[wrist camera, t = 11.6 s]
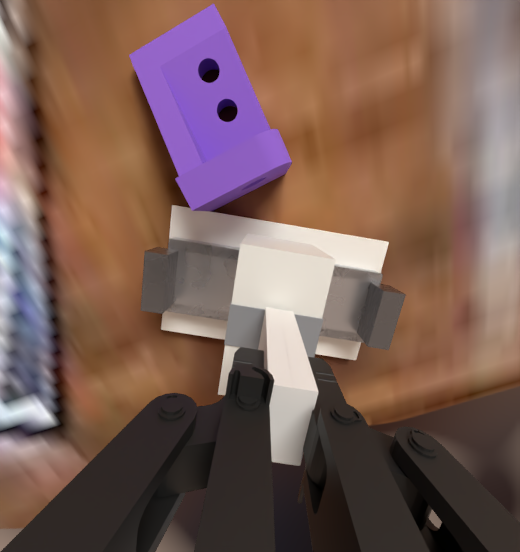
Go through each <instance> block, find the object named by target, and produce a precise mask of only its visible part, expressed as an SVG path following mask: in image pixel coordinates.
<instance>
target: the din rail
mask: <svg viewBox="0 0 520 552" xmlns="http://www.w3.org/2000/svg"><path fill="white" fill-rule="evenodd" d="M239 250H240V248H239V247H233V246H227V245H221V244H215V243H209V242H203V241H197V240H191V239H185V238H179V237H173V238H169V246H168V249H167V248H161V247H157V248H153V249H150V250H147V251H145V256H144V270H143V285H142V300H141V311H147V312H154V313H160V314H163V313H164V312H165V311H168V312H174V313H180V314H187V315H193V316H199V317H205V318H212V319H218V320H224V321H228V316H229V309H230V304H231V301H232V296H233V290H234V283H235V276H236V270H237V263H238V256H239ZM382 276H383V274H381V273H379V272H377V271H375V270H369V269H363V268H357V267H352V266H346V265H340V264H335V266H334V270H333V274H332V278H331V283H330V287H329V291H328V295H327V300H326V304H325V308H324V312H323V316H322V318H323V323H322V327H321V331H320V335H319V336H324V337H331V338H337V339H343V340H349V341H356V342H362V343H364V342H365V344H366V345H367V346H368V347H373V348H380V349H386V350H389V347H390V344H391V341H392V337H393V334H394V331H395V328H396V324H397V321H398V318H399V315H400V311H401V308H402V305H403V302H404V298H405V295H406V294H404V293H402V292H400V291H398V290H397V289H395V288H393V287H391V286H389V285H383V284H380V283H381V279H382Z"/></svg>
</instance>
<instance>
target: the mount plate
mask: <svg viewBox="0 0 520 552" xmlns="http://www.w3.org/2000/svg"><path fill="white" fill-rule="evenodd" d="M247 234H254V235H260V236H265V237H271V238H277V239H283V240H289V241H295V242H301V243H307V244H312V245H313V246H315V247H317V248H318V249H320V250H321V251H323V252H325V253H326V254H328V255H329V256H331V257H333V258H334V259H336V261H335V264H340V265H346V266H352V267H357V268H363V269H369V270H375V271H377V272H379V273H381V269H382V266H383V262H384V258H385V255H386V251H387V248H388V244H389V242H386V241H380V240H375V239H369V238H363V237H357V236H351V235H345V234H340V233H334V232H328V231H322V230H316V229H310V228H305V227H299V226H293V225H287V224H281V223H275V222H270V221H264V220H258V219H252V218H246V217H241V216H235V215H229V214H223V213H217V212H211V211H192V210H191V208H188V207H182V206H176V205H172V212H171V223H170V234H169V238H173V237H179V238H185V239H191V240H197V241H203V242H209V243H215V244H221V245H227V246H233V247H239V248H240V243H241V242H242V241H243V239H244V238H245V237H246V235H247ZM168 246H169V245H168ZM227 323H228V321H224V320H218V319H212V318H205V317H199V316H193V315H187V314H180V313H174V312H168V311H165V312H164V313H163V314H162V325H161V330H166V331H173V332H179V333H185V334H192V335H198V336H204V337H211V338H217V339H223V340H225V336H226V329H227ZM360 344H361V342H356V341H349V340H343V339H337V338H331V337H324V336H319V340H318V344H317V348H316V352H315V354H319V355H325V356H331V357H338V358H344V359H350V360H356V359H357V355H358V352H359V348H360Z"/></svg>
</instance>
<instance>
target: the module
mask: <svg viewBox="0 0 520 552" xmlns="http://www.w3.org/2000/svg"><path fill="white" fill-rule="evenodd" d="M335 261H336V259H334V258H333V257H331V256H329V255H328V254H326V253H325V252H323V251H321V250H320V249H318V248H317V247H315V246H313V245H312V244H307V243H301V242H295V241H289V240H283V239H277V238H271V237H265V236H260V235H254V234H247V235H246V237H245V238H244V239H243V241H242V242H241V243H240V250H239V256H238V263H237V270H236V276H235V283H234V290H233V296H232V301H231V304H230V309H229V316H228V323H227V329H226V336H225V343H224V345H225V350H224V356H223V363H222V370H221V376H220V383H219V390H218V395H225V394H226V388H227V381H228V375H229V372H230V371H231V369H232V364H233V359H234V354H235V352H236V351H237V350H238V349H239V348H240V347H244V348H251V349H257V350H258V347H259V341H260V336H261V330H262V325H263V320H264V314H265V309H266V307H268V308H274V309H280V310H287V311H293V312H294V315H295V318H296V321H297V325H298V328H299V331H300V334H301V337H302V341H303V344H304V347H305V350H306V353H307V357H313V358H314V357H315V352H316V348H317V344H318V340H319V335H320V331H321V327H322V323H323V318H322V316H323V312H324V308H325V304H326V300H327V295H328V291H329V287H330V283H331V278H332V274H333V270H334V266H335Z"/></svg>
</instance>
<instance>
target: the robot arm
mask: <svg viewBox="0 0 520 552" xmlns="http://www.w3.org/2000/svg"><path fill="white" fill-rule="evenodd" d="M303 452H304V456H305V463H306V467H305V471H304V475H303V479H302V482H301V486H300V490H299V494H298V503H302V499H303V495H304V494H305V500H306V508H307V514H308V521H309V527H310V535H311V542H312V548H313V552H520V522H519V521H518V520H516V518H515V517H514V516H513V515H512V514H511V513H510V512H509V511H508V510H507V509H506V508H504V507H503V505H502V504H500V503H499V502H498V501H497V500H496V499H495V498H494V497H493V496H492V495H491V494H490V493H489V492H488V491H487V490H486V489H485V488H484V487H483V486H482V485H481V484H480V483H479V482H478V481H477V480H476V479H475V478H474V477H473V476H472V475H471V474H470V473H469V472H468V471H467V470H466V469H465V468H464V467H463V466H462V465H461V464H460V463H459V462H458V461H457V460H456V459H455V458H454V457H453V456H452V455H451V454H450V453H449V452H448V451H447V450H446V449H445V448H444V447H443V446H442V445H441V444H440V443H439V442H437V441H436V440H435V439H434V438H433V437H431V436H429V435H428V434H426V433H424V432H423V431H420V430H418V429H415V428H412V427H401V428H398V429H397V431H396V433H395V436H394V437H391V436H388V435H386V434H383V433H381V432H378V431H376V430H374V429H371V428H369V427H368V425H367V423H366V421H365V419H364V418H363V416H362V415H361V413H360V412H358V411H357V410H356V409H355V408H354V407H352V406H350V405H348V404H347V403H346V401H345V399H344V396H343V394H342V392H341V390H340V387H339V385H338V383H337V381H336V378H335V376H334V374H333V372H332V369H331V367H330V366H329V365H328V364H327V363H326V362H325V361H324V360H323V359H320V358H313V357H307V353H306V350H305V347H304V344H303V341H302V337H301V334H300V331H299V328H298V325H297V321H296V318H295V315H294V312H293V311H287V310H280V309H274V308H268V307H266V309H265V314H264V320H263V325H262V330H261V336H260V341H259V347H258V350H257V349H251V348H244V347H240V348H239V349H238V350H237V351H236V352H235V354H234V359H233V364H232V369H231V371H230V372H229V375H228V381H227V388H226V394H225V396H224V397H223V399H221V400H220V401H218V402H217V403H214V404H212V405H207V406H199V407H197V406H196V403H195V402H194V401H193V399H192V398H190V397H188V396H186V395H184V394H178V393H171V394H164V395H162V396H159V397H157V398H155V399H154V400H152V401H151V402H150V403H149V404H148V405H147V406H146V407H145V408H144V409H143V410H142V411H141V412H140V413H139V414H138V415H137V416H136V417H135V418H134V419H133V420H132V421H131V422H130V423H129V424H128V425H127V426H126V427H125V428H124V429H123V430H122V431H121V432H120V433H119V434H118V435H117V436H116V437H115V438H114V439H113V440H112V441H111V442H110V443H109V444H108V445H107V446H106V447H105V448H104V449H103V450H102V451H101V452H100V453H99V454H98V455H97V456H96V457H95V458H94V459H93V460H92V461H91V462H90V463H89V464H88V465H87V466H86V467H85V468H84V469H83V470H82V471H81V472H80V473H79V474H78V475H77V476H76V477H75V478H74V479H73V480H72V481H71V482H70V483H69V484H68V485H67V486H66V487H65V488H64V489H63V490H62V491H61V492H60V493H59V494H58V495H57V496H56V497H55V498H54V499H53V500H52V501H51V502H50V503H49V504H48V505H47V506H46V507H45V508H44V509H43V510H42V511H41V512H40V513H39V514H38V515H37V516H36V517H35V518H34V519H33V520H32V521H31V522H30V523H29V524H28V525H27V526H26V527H25V528H24V529H23V530H22V531H21V532H20V533H19V534H18V535H17V536H16V537H15V538H14V539H13V540H12V541H11V542H10V543H9V544H8V545H7V546H6V547H5V548H4V549H3V550H2V551H1V552H155V551H156V549H157V547H158V545H159V544H160V542H161V540H162V538H163V536H164V534H165V532H166V530H167V528H168V526H169V525H170V523H171V521H172V519H173V517H174V515H175V513H176V511H177V509H178V507H179V506H180V504H181V502H182V500H183V498H184V496H185V493H186V492H189V491H194V490H199V489H204V488H207V490H206V495H205V500H204V505H203V510H202V515H201V520H200V525H199V530H198V535H197V540H196V545H195V550H194V552H275V533H274V510H273V509H274V508H273V483H272V462H277V463H284V464H291V465H298V466H300V464H301V459H302V456H303ZM432 509H433V511H434V512H435V513H436V514H437V516H438V517H439V518H440V520H441V521H442V524H441V527H440V528H439V529H438V528H437V527H435V526H434V524H432V522H431V521H430V520H429V518H428V517H429V515H430V513H431V510H432Z"/></svg>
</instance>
